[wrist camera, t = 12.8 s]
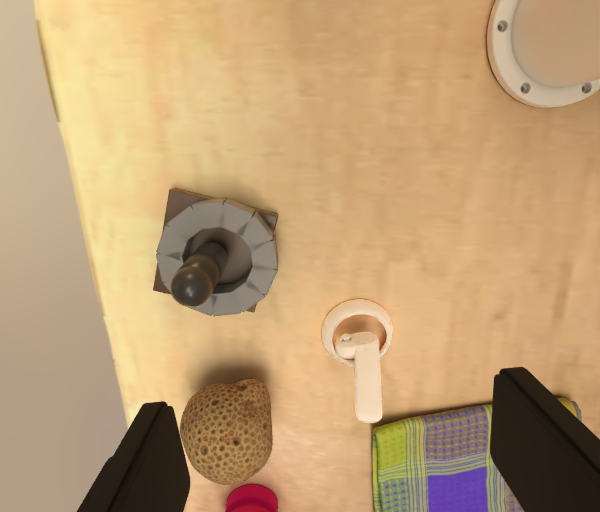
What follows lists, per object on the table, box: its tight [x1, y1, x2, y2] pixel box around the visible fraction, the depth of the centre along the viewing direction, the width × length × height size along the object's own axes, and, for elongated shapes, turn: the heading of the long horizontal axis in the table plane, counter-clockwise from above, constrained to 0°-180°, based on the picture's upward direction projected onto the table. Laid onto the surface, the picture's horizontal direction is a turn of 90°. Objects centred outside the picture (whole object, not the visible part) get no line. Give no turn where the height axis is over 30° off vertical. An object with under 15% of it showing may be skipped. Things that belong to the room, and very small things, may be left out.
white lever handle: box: [321, 299, 393, 423], centre depth 37 cm, size 8×12×7 cm
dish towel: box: [372, 397, 582, 512], centre depth 43 cm, size 18×24×3 cm
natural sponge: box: [180, 379, 273, 485], centre depth 36 cm, size 9×9×10 cm
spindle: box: [153, 188, 278, 312], centre depth 31 cm, size 10×10×12 cm
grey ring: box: [156, 198, 278, 316], centre depth 34 cm, size 10×10×2 cm
